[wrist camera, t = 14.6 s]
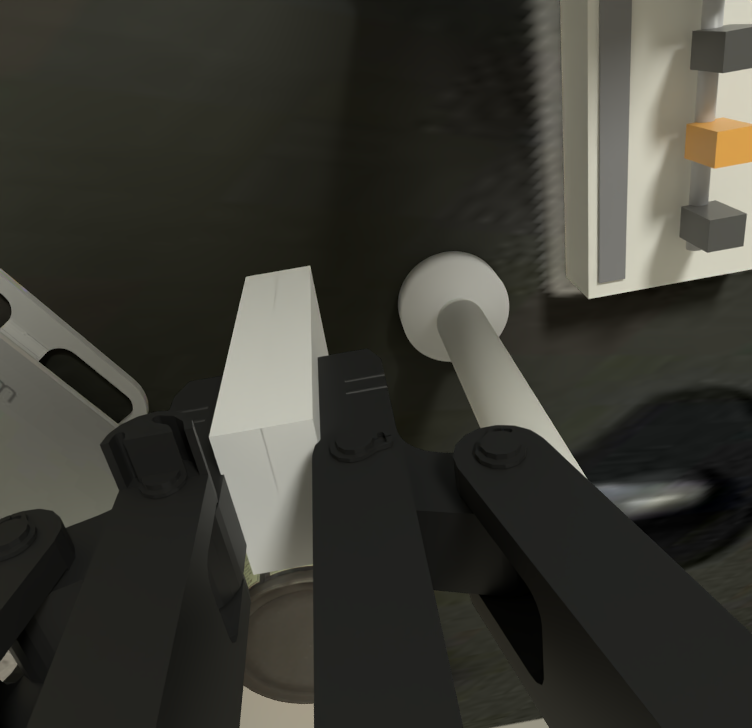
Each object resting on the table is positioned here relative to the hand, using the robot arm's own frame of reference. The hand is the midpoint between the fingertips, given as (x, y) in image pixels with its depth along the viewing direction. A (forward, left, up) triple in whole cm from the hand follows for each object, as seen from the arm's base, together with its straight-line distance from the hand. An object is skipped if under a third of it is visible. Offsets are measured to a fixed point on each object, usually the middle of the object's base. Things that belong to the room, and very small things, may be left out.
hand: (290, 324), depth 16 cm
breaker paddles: (-10, +19, -21) cm, 30 cm away
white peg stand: (+7, +12, -26) cm, 30 cm away
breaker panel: (-10, +19, -26) cm, 34 cm away
